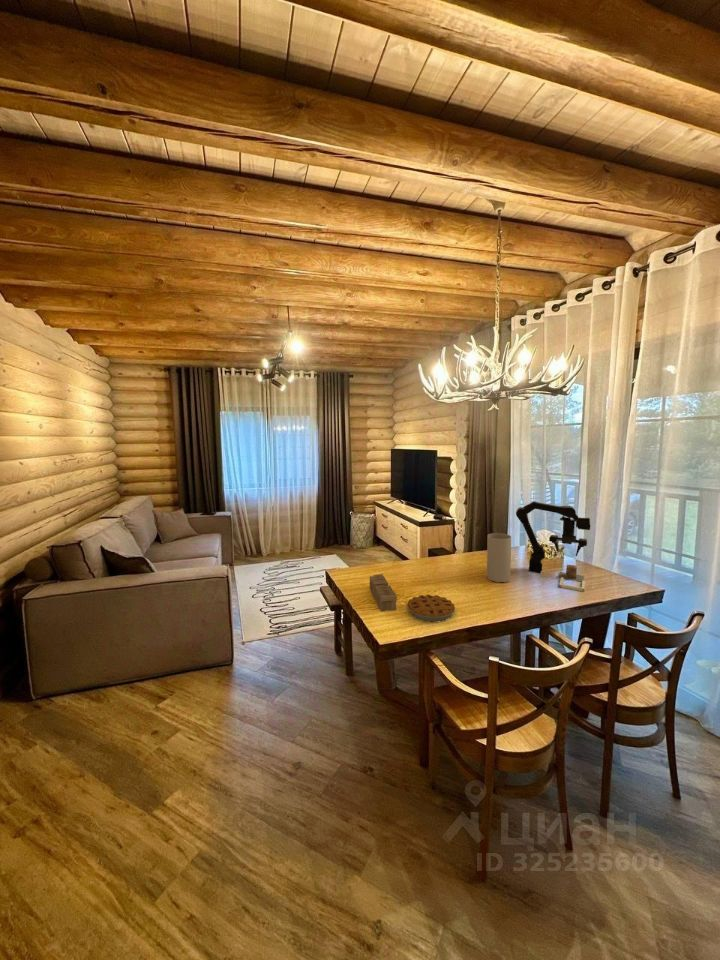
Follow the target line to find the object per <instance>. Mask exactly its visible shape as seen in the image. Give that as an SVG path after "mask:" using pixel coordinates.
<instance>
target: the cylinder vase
mask: <svg viewBox="0 0 720 960" xmlns="http://www.w3.org/2000/svg"><path fill="white" fill-rule="evenodd" d="M486 544H487V546H486V547H487V550H486V552H487V553H486V579H488V580H489V581H491V582H493V581H495V583H499V582H504V583H508V582H510V580H511V570H512V569H511V566H512V565H511V564H512V558H511V557H512V535H510V534H507V533H501V532H493V533H489V534H487V541H486Z"/></svg>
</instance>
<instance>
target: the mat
mask: <svg viewBox="0 0 720 960" xmlns="http://www.w3.org/2000/svg"><path fill="white" fill-rule="evenodd" d="M561 577H564V580H566V581H567V580H568V581H574V582H580V583H582V581H585V579H584V578H585V576H584V575H582V574H577V576H576V579H573V578H567V577H566V572H562V571H560V572H559V575H558V579H561Z"/></svg>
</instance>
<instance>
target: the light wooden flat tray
mask: <svg viewBox="0 0 720 960" xmlns="http://www.w3.org/2000/svg"><path fill="white" fill-rule="evenodd" d="M564 580H565V579H564V577H561V578H560V581H559V584H558V585H559V586H558V587H559V588H563V589H567V590H573V591H579V592H585V588H586V587H585V586H586V580H584V581H582V582H581V587H580V586H575V585H574V586H573V585H568V584H563V583H564Z"/></svg>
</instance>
